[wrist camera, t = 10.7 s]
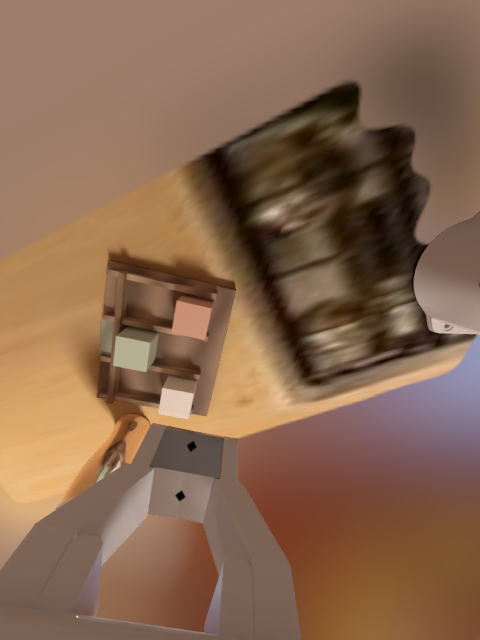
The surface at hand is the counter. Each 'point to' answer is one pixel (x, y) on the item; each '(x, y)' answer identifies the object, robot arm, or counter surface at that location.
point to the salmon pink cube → (192, 317)
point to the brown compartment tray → (172, 349)
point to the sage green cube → (135, 348)
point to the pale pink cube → (177, 396)
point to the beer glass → (110, 454)
